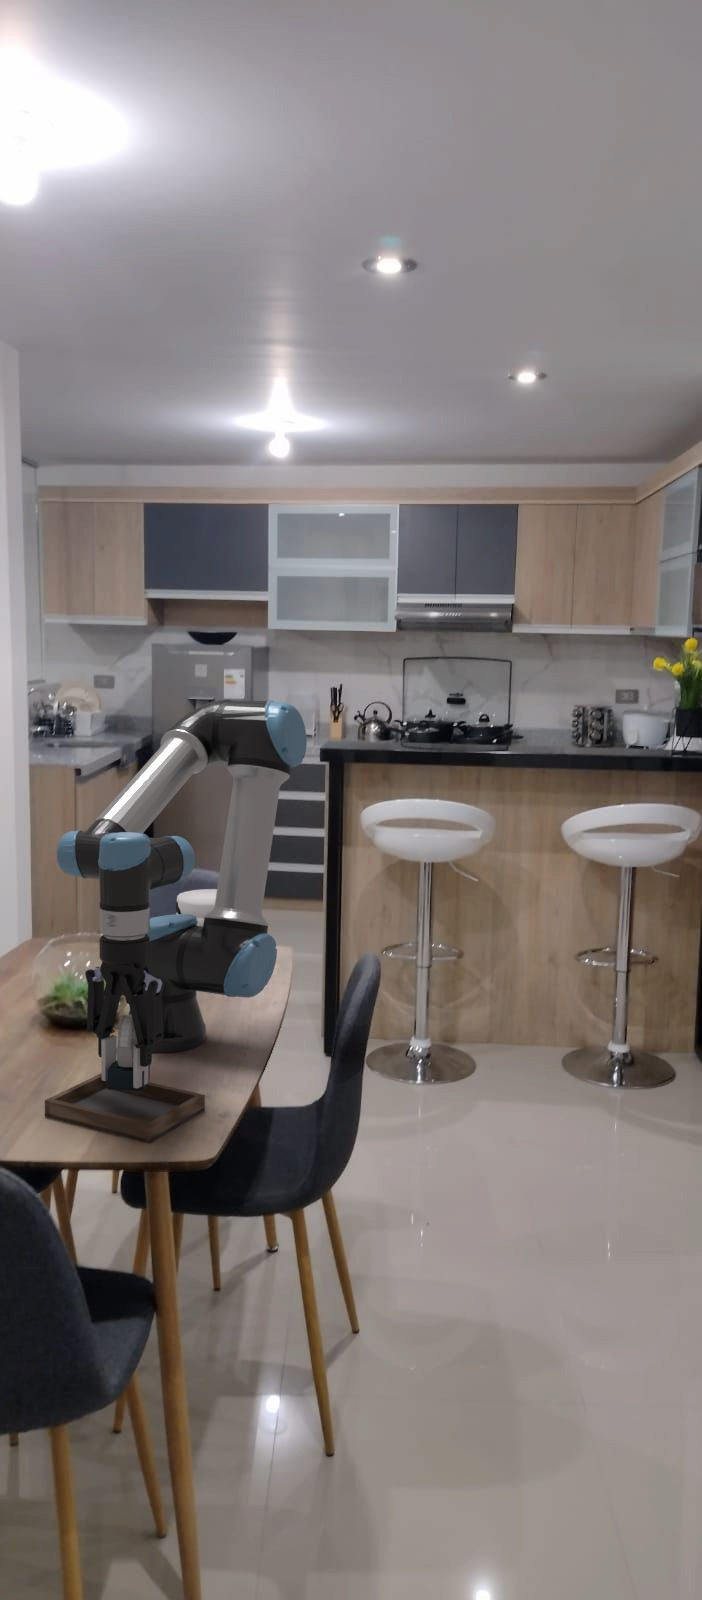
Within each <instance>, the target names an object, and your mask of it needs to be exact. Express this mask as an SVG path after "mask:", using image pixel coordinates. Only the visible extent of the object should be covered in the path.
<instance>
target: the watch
mask: <svg viewBox="0 0 702 1600" xmlns="http://www.w3.org/2000/svg"><path fill="white" fill-rule="evenodd" d="M114 1026H115V1029H114V1030H115V1031H117V1030H118V1032H117V1048H116V1051H117V1061H115V1062H113V1064H112V1065H111V1066H110V1068H109V1069H108V1089H113V1090H130V1091H144V1089H145V1088H146V1086H147V1085H148V1083H149V1082H150V1078H151V1064H150V1065H148V1083H147V1084H145V1085H144V1071H142V1086H141V1087H139V1088H133V1046H135V1045H136V1044H138V1042H137V1038H136V1033H135V1029H134V1024H133V1020H132V1015H131V1014H129V1013H128V1014H124V1015H123V1014H122V1015H121V1017H120V1018H119V1021H118V1024H115V1025H114Z"/></svg>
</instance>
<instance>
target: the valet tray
mask: <svg viewBox="0 0 702 1600" xmlns="http://www.w3.org/2000/svg"><path fill="white" fill-rule="evenodd" d="M205 1111H206V1095H205V1094H202V1093H197V1092H193V1091H189V1090H185V1089H180V1088H176V1087H172V1086H167V1085H162V1084H158V1083H155V1082H154V1083H153V1082H150V1081H149V1083H148V1085H147V1086H146V1088H145V1089H144V1091H130V1090H113V1089H108V1080H107V1081H103V1080H102V1072H100V1073H98V1074H97V1075H94V1076H93V1077H91V1078H89V1079H86V1080H85V1081H82V1082H80V1083H78V1084H75V1085H74V1086H72V1087H69V1088H68V1089H65V1090H63V1091H61V1092H58V1093H57V1094H55V1095H52V1096H50V1097H49V1098H47V1099H44V1116H45V1117H46V1118H47V1117H48V1118H50V1119H54V1120H55V1119H56V1120H58V1121H62V1122H66V1123H70V1124H74V1125H78V1126H81V1127H84V1128H85V1127H86V1128H89V1129H92V1130H97V1131H101V1132H104V1133H108V1134H111V1135H115V1136H120V1137H123V1138H127V1139H131V1140H135V1141H139V1142H143V1143H147V1144H151V1143H153V1142H155V1141H156V1140H158V1139H160V1138H162V1137H163V1136H165V1135H167V1134H168V1133H170V1132H171V1131H173V1130H175V1129H176V1128H179V1127H180V1126H181V1125H183V1124H185V1123H186V1122H189V1121H190V1120H191V1119H193V1118H196V1116H198V1115H200V1114H202V1113H203V1112H205Z"/></svg>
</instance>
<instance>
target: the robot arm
mask: <svg viewBox="0 0 702 1600" xmlns="http://www.w3.org/2000/svg"><path fill="white" fill-rule="evenodd" d="M302 717H303V716H302V715H301V713H300V711H299V710H298V709H297V708H296V707H295V706H294V705H293V704H292V703H288V702H280V701H274V700H234V699H233V700H232V699H218V700H215V701H213V700H212V701H210V702H207V703H205V704H202V705H201V706H199V707H196V708H194V709H193V710H192V711H190V712H188V713H187V714H186V715H184V716H182V717H181V718H180V719H179V720H177V721H176V722H175V723H174V724H173V725H172V726H171V727H170V728H169V729H168V730H167V731H166V733H164V734H163V736H162V737H161V740H160V747H159V748H158V750H156V752H154V753H153V755H152V756H151V757H150V759H148V760H147V762H146V763H145V764H144V765H143V766H142V768H141V769H140V770H139V771H138V772H137V773H136V774H135V775H134V776H133V778H131V780H130V781H129V782H128V783H127V785H125V786H124V787H123V789H121V791H120V792H119V793H118V795H116V797H115V798H114V799H113V800H112V801H111V802H110V804H109V805H107V807H106V808H105V809H104V810H103V811H102V812H101V813H100V815H98V817H97V818H96V819H95V820H94V822H93V823H92V824H91V825H90V826H89V827H88V829H86V830H81V829H78V830H71V831H69V832H68V831H67V832H66V833H64V835H62V836H61V838H60V840H59V841H58V844H57V848H56V861H57V863H58V866H59V868H60V870H61V871H62V872H63V873H64V874H66V875H67V876H72V877H78V878H82V879H84V880H85V879H86V880H87V879H92V880H99V933H100V934H101V936H100V938H99V939H98V941H99V959H100V961H101V964H100V966H96V967H93V968H90V969H87V970H85V978H86V983H87V1012H86V1013H87V1014H86V1015H87V1017H86V1019H87V1021H86V1029H87V1032H88V1033H93V1034H95V1035H96V1037H97V1038H98V1039H97V1040H98V1041H97V1045H98V1047H97V1054H98V1057H99V1058H101V1073H102V1080H103V1081H107V1080H108V1069H109V1068H110V1066H111V1065H112V1064H113V1062H115V1061H117V1051H116V1048H117V1040H118V1035H116V1034H113V1033H115V1032H116V1029H114V1026H115V1022H116V1018H117V1013H118V1009H119V1006H120V1005H119V1004H120V1002H121V997H122V996H123V997H124V998H125V999H124V1000H125V1002H126V1003H127V1004H128V1005H129V1006H128V1007H129V1011H128V1014H131V1015H132V1020H133V1024H134V1029H135V1033H136V1038H137V1042H138V1044H136V1045H135V1046H133V1088H139V1087H141V1086H142V1071H144V1085H145V1084H147V1083H148V1065H150V1066H151V1065H152V1062H153V1053H155V1054H156V1053H158V1054H159V1053H160V1054H163V1053H165V1054H166V1053H175V1052H181V1051H186V1050H187V1051H188V1050H191V1049H194V1048H196V1047H199V1046H201V1045H202V1044H203V1043H204V1042H206V1040H207V1039H206V1038H207V1027H206V1024H205V1021H204V1018H203V1015H202V1010H201V1008H200V1005H199V1001H198V999H197V992H201V993H209V994H214V995H221V996H226V997H228V998H235V997H238V998H253V997H255V996H258V995H259V994H260V993H261V992H262V991H263V990H264V988H265V987H266V986H267V985H268V983H269V981H270V980H271V978H272V975H273V974H274V970H275V966H276V963H277V957H278V949H277V942H276V940H275V938H274V937H273V936H272V935H270V934H269V933H268V931H269V923H268V922H267V921H266V919H265V918H264V917H263V914H262V912H263V905H264V899H265V891H266V886H267V878H268V872H269V864H270V858H271V850H272V845H273V839H274V838H273V837H274V829H275V823H276V815H277V811H278V810H277V809H278V803H279V797H280V796H279V795H280V788H281V786H282V784H284V783H285V782H286V781H288V780H289V779H290V778H291V769H292V768H296V767H297V766H299V765H301V763H302V762H303V761H304V759H305V756H306V752H307V742H308V741H307V739H308V738H307V731H306V726H305V723H304V720H303V718H302ZM218 762H223V763H224V762H225V763H227V767H226V769H227V771H228V772H229V774H230V775H231V776H232V778H233V783H232V787H231V789H232V790H231V797H230V802H229V810H228V815H227V821H226V827H225V828H226V829H225V834H224V835H225V836H224V841H223V849H222V855H221V862H220V868H219V876H218V881H217V887H216V889H217V894H216V900H215V907H214V909H213V910H212V911H210V912H209V913H208V914H206V915H205V917H204V924H203V927H202V926H197V923H198V921H197V919H196V916H194V915H191V914H176V913H175V914H167V915H159V916H155V917H151V915H150V914H151V913H150V912H151V911H150V910H151V907H150V893H151V892H150V891H151V890H154V889H157V888H158V889H159V888H161V887H165V886H169V885H174V884H177V883H179V882H180V881H183V880H185V879H186V878H187V877H189V876H190V875H191V873H192V872H193V870H194V867H195V865H196V863H195V862H196V855H195V851H194V848H193V846H192V845H191V844H190V842H188V840H187V839H185V838H184V837H181V836H178V835H171V836H169V835H163V836H161V837H149V836H148V835H147V834H145V833H144V832H145V831H146V830H147V829H148V828H149V827H150V825H151V824H152V823H153V822H154V821H155V819H156V818H157V817H158V816H159V815H160V814H161V813H162V812H163V810H164V809H165V807H166V806H167V805H168V804H169V802H171V800H172V799H173V798H174V797H175V796H176V794H177V793H179V791H180V790H181V788H182V787H183V786H184V785H185V784H186V782H187V781H188V780H189V779H190V778H191V776H192V775H195V774H199V773H200V772H202V771H203V770H204V769H205V768H206V767H207V766H208V765H210V764H213V763H218Z"/></svg>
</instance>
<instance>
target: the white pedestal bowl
mask: <svg viewBox="0 0 702 1600" xmlns="http://www.w3.org/2000/svg"><path fill="white" fill-rule="evenodd" d="M216 894H217V888H206V889H205V888H204V889H203V888H202V889H193V890H187V891H183V892H180V893H178V895H177V896H176V904H175V911H176V913H175V914H191V915H194V916H196V919H197V921H198V923H197V926H202V927H203V924H204V917H205V915H206V914H208V913H209V912H210V911H212V910H213V909H214V907H215V900H216Z"/></svg>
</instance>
